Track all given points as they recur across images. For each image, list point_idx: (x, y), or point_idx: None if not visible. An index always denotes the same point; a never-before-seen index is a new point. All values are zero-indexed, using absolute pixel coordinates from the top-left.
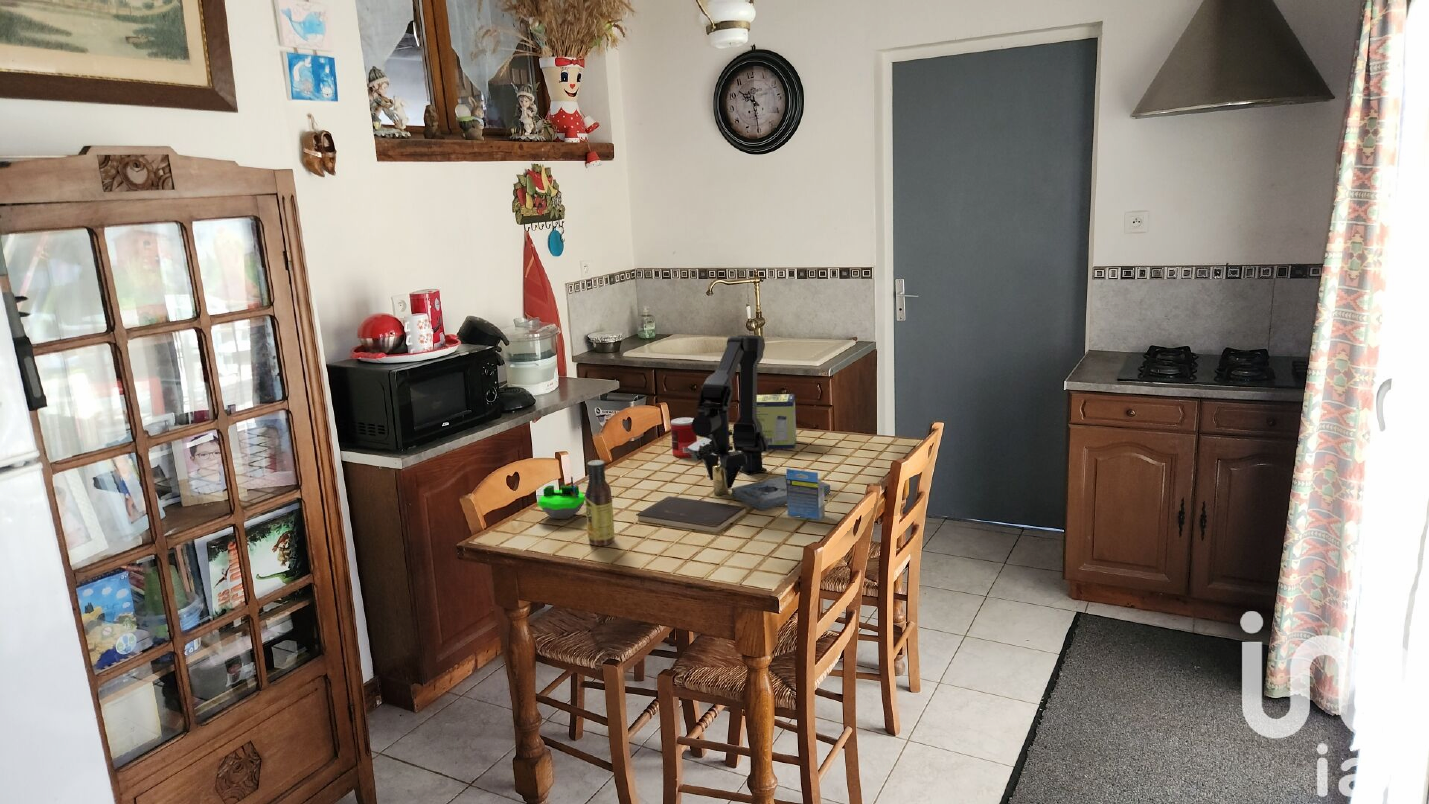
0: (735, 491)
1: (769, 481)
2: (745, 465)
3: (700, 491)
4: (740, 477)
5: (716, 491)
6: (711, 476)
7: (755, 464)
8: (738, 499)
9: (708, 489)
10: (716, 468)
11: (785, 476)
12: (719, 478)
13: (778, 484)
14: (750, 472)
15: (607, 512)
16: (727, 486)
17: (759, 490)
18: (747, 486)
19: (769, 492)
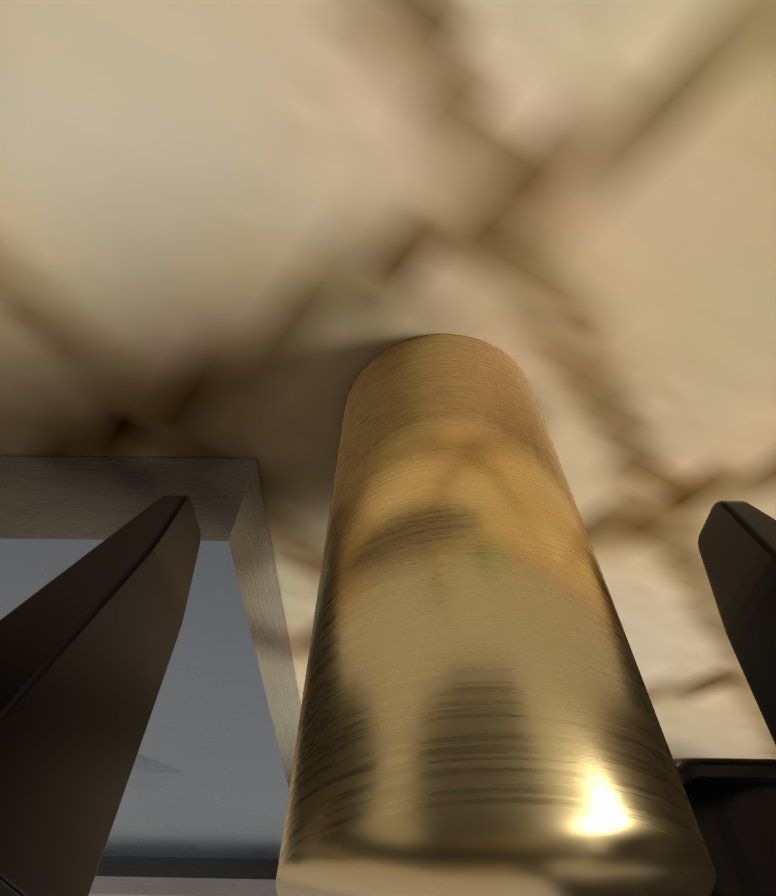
0: None
1: (242, 794)
2: (773, 838)
3: (766, 263)
4: (703, 719)
5: (405, 373)
6: (745, 553)
7: None
8: (107, 462)
9: (722, 393)
10: (373, 786)
11: (272, 868)
12: (341, 563)
13: (123, 798)
14: (690, 788)
15: None
16: (159, 509)
17: None
18: (193, 663)
19: None
